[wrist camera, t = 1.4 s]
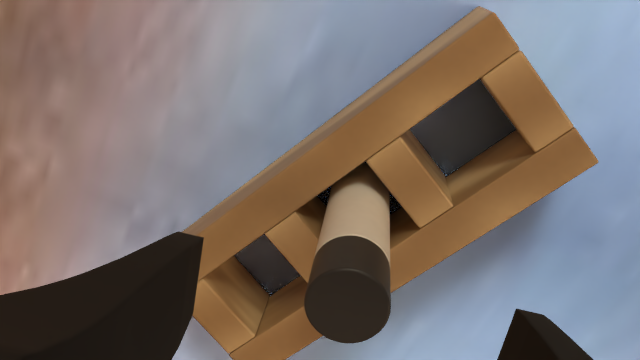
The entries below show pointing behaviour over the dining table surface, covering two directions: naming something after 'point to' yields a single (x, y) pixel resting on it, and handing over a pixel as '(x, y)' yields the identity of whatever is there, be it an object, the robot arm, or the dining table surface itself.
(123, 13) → the dining table surface
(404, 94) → the pen block
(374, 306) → the marker
